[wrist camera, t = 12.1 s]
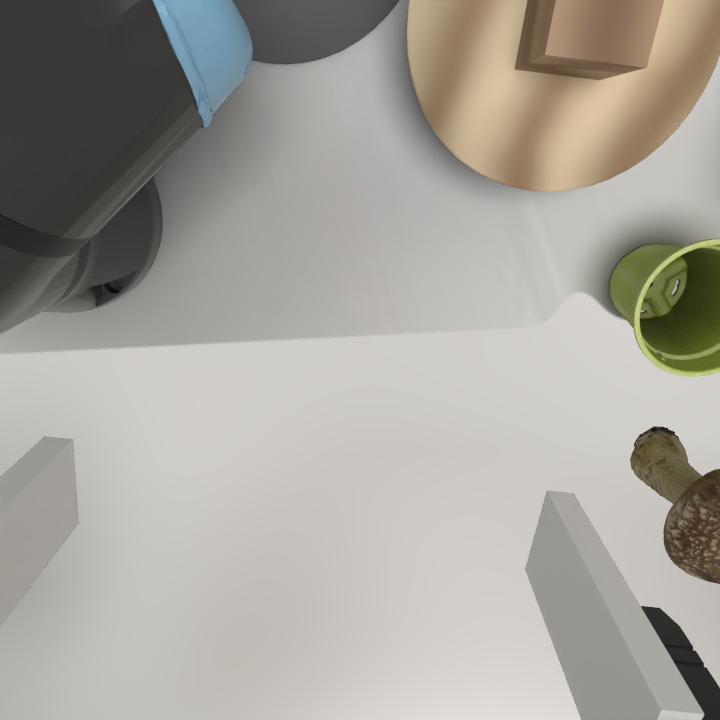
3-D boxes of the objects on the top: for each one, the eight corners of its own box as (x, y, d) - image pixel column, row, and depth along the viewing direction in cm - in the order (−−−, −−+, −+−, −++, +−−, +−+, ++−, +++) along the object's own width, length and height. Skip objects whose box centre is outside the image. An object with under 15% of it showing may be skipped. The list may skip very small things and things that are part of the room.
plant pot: (606, 213, 44) (661, 229, 36) (725, 230, 44) (805, 250, 36) (573, 328, 47) (616, 367, 39) (684, 343, 48) (749, 385, 40)
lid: (387, 172, 36) (392, 179, 30) (431, -187, 30) (451, -283, 23) (665, 205, 37) (731, 220, 30) (766, -141, 31) (879, -220, 24)
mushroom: (584, 410, 50) (670, 515, 36) (685, 379, 49) (815, 475, 35) (606, 497, 53) (693, 625, 39) (702, 469, 52) (826, 591, 38)
